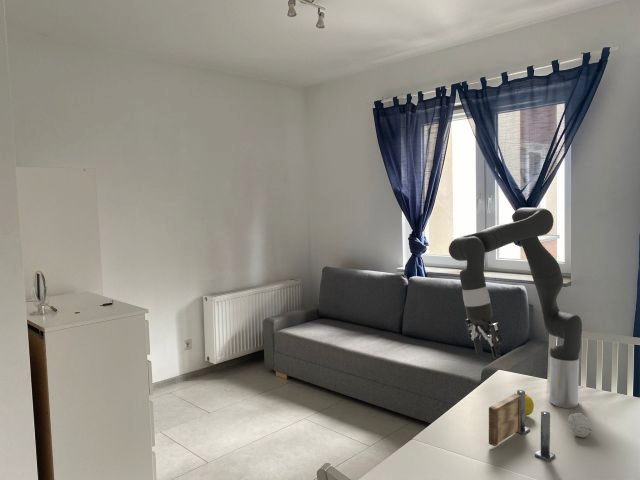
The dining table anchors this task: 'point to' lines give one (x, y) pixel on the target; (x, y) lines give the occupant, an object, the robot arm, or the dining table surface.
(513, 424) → the gate
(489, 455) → the dining table surface
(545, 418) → the grey upright posts
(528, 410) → the lemon
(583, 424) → the white lumpy piece
